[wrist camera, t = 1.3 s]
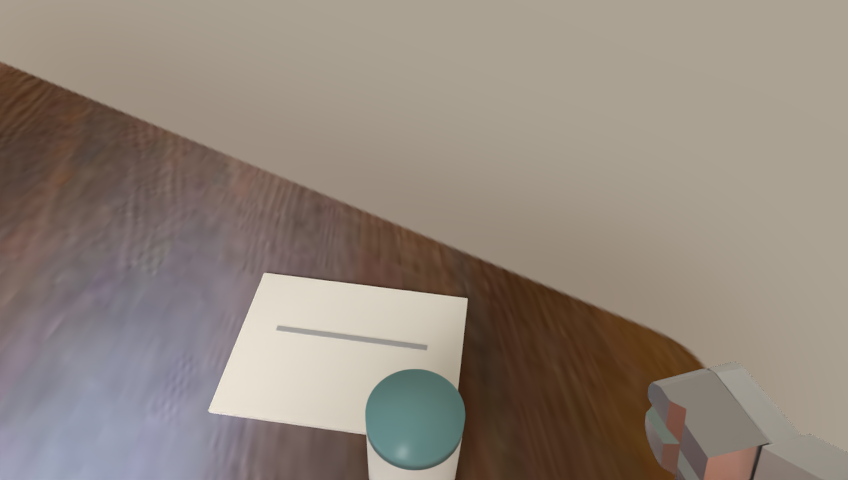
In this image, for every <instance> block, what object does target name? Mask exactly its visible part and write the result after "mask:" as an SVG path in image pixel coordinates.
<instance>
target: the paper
mask: <svg viewBox="0 0 848 480" xmlns="http://www.w3.org/2000/svg"><path fill="white" fill-rule="evenodd" d="M467 301H468V298H461V297H453V296H445V295H437V294H429V293H421V292H413V291H405V290H397V289H389V288H382V287H374V286H366V285H358V284H350V283H342V282H334V281H326V280H318V279H310V278H302V277H294V276H286V275H278V274H270V273H264V275H263V277H262V279H261V282H260V284H259V287H258V289H257V292H256V294H255V297H254V299H253V302H252V304H251V307H250V309H249V311H248V314H247V316H246V319H245V321H244V324H243V326H242V329H241V331H240V334H239V336H238V339H237V341H236V343H235V346H234V348H233V351H232V353H231V356H230V358H229V361H228V363H227V366H226V368H225V371H224V373H223V375H222V378H221V380H220V383H219V385H218V388H217V390H216V393H215V395H214V398H213V400H212V403H211V405H210V407H209V410H208V411H209V413H215V414H223V415H230V416H237V417H244V418H251V419H258V420H265V421H272V422H279V423H286V424H293V425H300V426H308V427H315V428H322V429H329V430H336V431H343V432H350V433H357V434H364V435H366V421H365V409H366V404H367V400H368V398H369V396H370V394H371V392H372V390H373V389H374V388H375V387H376V385H377V384H378V383H379V382H380V381H381V380H383V379H384V378H386V377H387V376H389V375H391V374H393V373H395V372H398V371H402V370H407V369H423V370H428V371H431V372H434V373H437V374H439V375H441V376H442V377H444V378H446V379H447V380H448V381H449V382H450V383H452V384H453V385H454V387H455V388H456V389H457V390H458V385H459V376H460V367H461V357H462V348H463V339H464V329H465V320H466V311H467Z"/></svg>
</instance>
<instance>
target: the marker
mask: <svg viewBox="0 0 848 480" xmlns="http://www.w3.org/2000/svg"><path fill="white" fill-rule="evenodd" d="M365 421H366V437H367V454H368V470H369V480H455V476H456V470H457V464H458V458H459V452H460V446H461V440H462V435H463V429H464V423H465V407H464V403H463V400H462V398H461V395H460V394H459V392H458V390H457V389H456V388H455V387H454V385H453V384H452V383H450V382H449V381H448V380H447V379H446V378H444V377H442V376H441V375H439V374H437V373H434V372H431V371H428V370H423V369H407V370H402V371H398V372H395V373H393V374H391V375H389V376H387V377H386V378H384V379H383V380H381V381H380V382H379V383H378V384H377V385H376V387H375V388H374V389H373V390H372V392H371V394H370V396H369V398H368V400H367V404H366V409H365Z"/></svg>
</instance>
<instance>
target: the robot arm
mask: <svg viewBox="0 0 848 480" xmlns="http://www.w3.org/2000/svg"><path fill="white" fill-rule="evenodd" d="M648 398H649V400H650V402H651V403H652V405H653V406H652V407H651V408H650V409H649V411H648V412H647V413H646V418H645V429H646V433H647V437H648V442H649V444H650V447H651V449H652V451H653V454H654V455H655V457H656V459H657V461H658V462H659V464H660V466H661V467H663V468H664V469H666V470H668V471H669V472H671V473H673V474H674V475H676V478H675V480H848V452H846V451H844V450H842V449H840V448H838V447H836V446H834V445H832V444H830V443H828V442H826V441H824V440H822V439H820V438H817V437H816V436H814V435H812V434H807V435H801V434H800V433H799V432H798V431H797V430H796V428H795V427H794V426H793V425H792V424H791V422H790V421H789V420H788V419H787V418H786V417H785V415H784V414H783V413H782V412H781V411H780V410H779V408H778V407H777V406H776V405H775V404H774V402H773V401H772V400H771V399H770V398H769V397H768V396H767V394H766V393H765V392H764V391H763V390H762V388H761V387H760V386H759V385H758V384H757V382H756V381H755V380H754V379H753V378H752V376H751V375H750V374H749V373H748V372H747V371H746V370H745V368H744V367H743V366H742V365H740V364H739V363H737V362H730V363H727V364H722V365H719V366H715V367H711V368H708V369H700V370H696V371H692V372H689V373H685V374H681V375H677V376H674V377H670V378H666V379H663V380H659V381H655V382H652V383H651V385H650V386H649V389H648Z"/></svg>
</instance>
